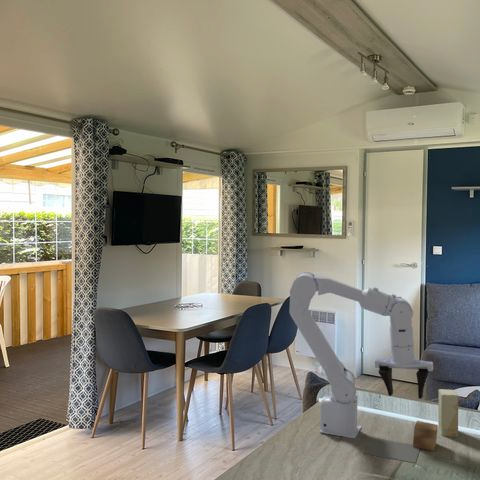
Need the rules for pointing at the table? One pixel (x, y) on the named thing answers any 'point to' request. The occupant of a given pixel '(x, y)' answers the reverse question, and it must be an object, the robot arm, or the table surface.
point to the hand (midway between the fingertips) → (405, 395)
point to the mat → (392, 450)
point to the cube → (425, 435)
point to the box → (448, 413)
